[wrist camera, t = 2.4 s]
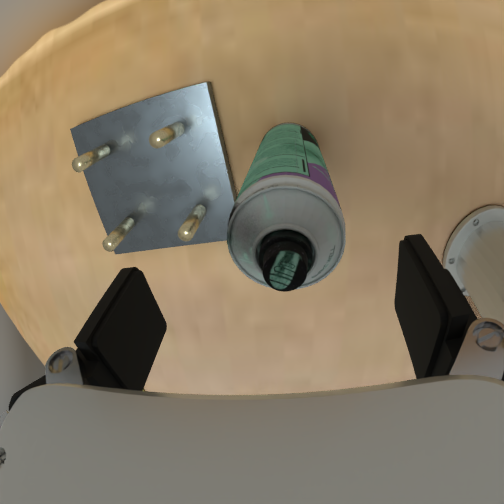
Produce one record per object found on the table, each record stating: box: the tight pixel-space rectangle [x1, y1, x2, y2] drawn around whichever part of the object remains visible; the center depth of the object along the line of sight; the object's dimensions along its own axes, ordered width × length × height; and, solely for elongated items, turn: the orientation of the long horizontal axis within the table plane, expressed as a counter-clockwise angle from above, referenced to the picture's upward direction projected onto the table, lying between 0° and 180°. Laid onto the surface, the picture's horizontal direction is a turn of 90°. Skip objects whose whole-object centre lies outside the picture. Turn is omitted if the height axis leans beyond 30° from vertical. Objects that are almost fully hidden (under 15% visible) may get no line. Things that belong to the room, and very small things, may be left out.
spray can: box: [227, 123, 345, 291], centre depth 20 cm, size 6×6×20 cm
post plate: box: [70, 82, 237, 254], centre depth 29 cm, size 16×16×6 cm
